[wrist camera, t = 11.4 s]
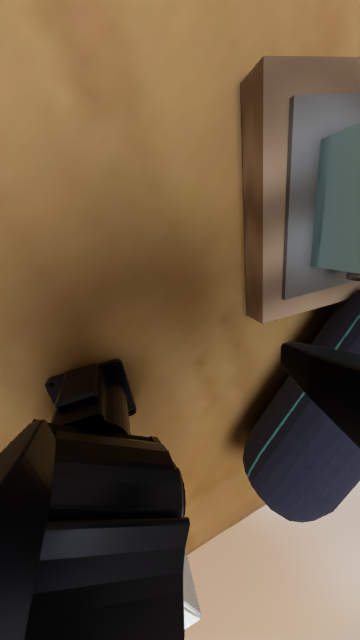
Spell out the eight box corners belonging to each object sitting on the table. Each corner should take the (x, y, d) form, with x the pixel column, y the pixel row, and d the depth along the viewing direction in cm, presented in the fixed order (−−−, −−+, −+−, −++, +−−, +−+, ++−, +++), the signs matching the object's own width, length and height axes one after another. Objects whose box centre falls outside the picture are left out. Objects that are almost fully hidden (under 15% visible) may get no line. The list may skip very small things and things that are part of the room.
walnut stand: (358, 284, 26) (387, 290, 23) (246, 314, 23) (265, 325, 20) (395, 80, 19) (444, 54, 16) (240, 83, 15) (267, 50, 13)
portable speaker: (264, 449, 32) (329, 529, 24) (218, 449, 27) (281, 552, 19) (371, 302, 28) (496, 338, 20) (340, 267, 22) (495, 296, 14)
